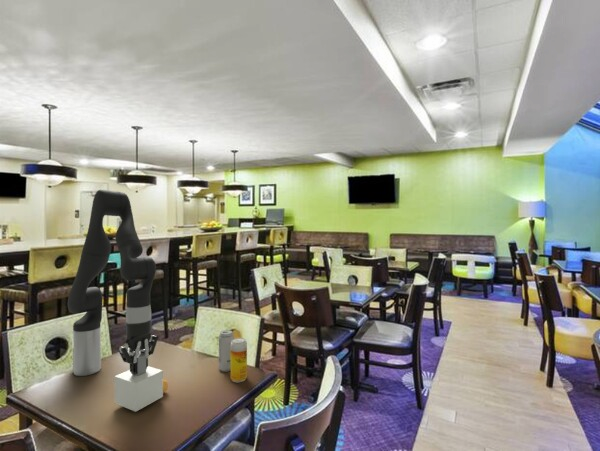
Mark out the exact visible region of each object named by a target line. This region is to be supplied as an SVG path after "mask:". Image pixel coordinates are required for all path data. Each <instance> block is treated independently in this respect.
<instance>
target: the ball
mask: <svg viewBox="0 0 600 451" xmlns="http://www.w3.org/2000/svg"><path fill="white" fill-rule="evenodd" d="M168 389H169V383H168V381H167V380H166V379H164V378H163V394H165V393H166V392H167V390H168Z"/></svg>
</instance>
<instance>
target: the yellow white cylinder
mask: <svg viewBox="0 0 600 451" xmlns="http://www.w3.org/2000/svg"><path fill="white" fill-rule="evenodd" d="M247 377H248V342H247V340H246V338H244V337H234V339H232V342H231V371H230V380H231V381H232V382H233V383H243V382H245V381H246V379H247Z"/></svg>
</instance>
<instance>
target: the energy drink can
mask: <svg viewBox="0 0 600 451" xmlns="http://www.w3.org/2000/svg"><path fill="white" fill-rule="evenodd" d="M232 339H235V335H234V334H233V330H228V329H226V330H222V331H220V333H219V336H218V368H219V370H220V372H225V373H227V372H231V342H232Z"/></svg>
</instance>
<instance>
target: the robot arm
mask: <svg viewBox="0 0 600 451" xmlns="http://www.w3.org/2000/svg"><path fill="white" fill-rule="evenodd" d="M105 216H107V217H108V216H109V217H120V220H121V222H120V225H119V226H118V228H117V229H116V232H115V236H114V237H115V238H114V240H115V243H116V246H117V249H118V253H119V256H120V258H119V259H120V266H119V267H120V268H119V273H120V276H121V277H122V279H123V280H124V281H128V282H130V281H139V280H140V281H139V283H138V284H137V285H135V286H131V287H130V288H128V289H127V291H126V310H125V335H126V340H125V343H124V344H123V345H121V346H118V347H117V351H118V353H119V355H120V357H121V360H122V361H123V363H127V364H129V370H130V372H131V373H132V374H137V356H138V355H139V353H143V354H146V369H147V367H148V366H149V357H150V355H154V352H155V348H156V346H157V342H158V339H159V336H158V335H153V334H151V332H152V309H151V308H152V307H151V291H152V288H153V287H152V286H153V284H154V283H153V282H154V279H155V276H156V272H157V265H156V262H155V260H154V259H153V258H152V257H149V256H148V257H140V256H141V255H143V251H144V250H143V249H144V248H143V245H142V243H141V240H140V239H139V236H138V233H137V230H136V227H135V221H134V214H133V210H132V205H131V201H130V198H129V196H128V195H127V193H125V192H122V191H119V190H116V191H115V190H111V189H110V190H109V189H99V190H97V191H96V192H95V194H94V197H93V200H92V205H91V210H90V219H89V224H88V228H87V232H86V237H85V240H84V243H83V247H82V251H81V253H80V254H81V255H80V260H79V263H78V267H77V270H76V271H77V272H76V274H75V277H74V280H73V283H72V285H71V288H70V291H69V293H68V297H67V298H68V299H67V308H68V312H70V313H71V314H74V315H75V314H82V313H85V314H84V315H83V316H82V317H80V318H79V319H78V320H75V321H74V322H73V325H72V327H73V328H72V330H73V332H72V333H73V336H72V337H73V338H72V339H73V340H72V342H73V344H72V345H73V348H72V372H73V375H74V376H77V377H85V376H90V375H93V374H96V373H97V372H99V371H101V368H102V363H101V362H102V356H101V355H102V354H101V353H102V352H101V351H102V350H101V349H102V348H101V345H102V344H101V342H102V340H101V323H102V318H103V302H104V301H103V293H102V291H101V289H100V288H99V287H97V286H90V284H91V282H92V281H93V280H95V278H96V277H97V276H98V275H99V274H100V273H101V272H102V271H103V270H104V269H105V267H106V266H107V264H108V263H109V260H110V255H111V253H112V252H111V251H112V244H111V241H110V239H109V237H108V235H107V233H106V231H105V229H104V218H105ZM89 286H90V287H89Z"/></svg>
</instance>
